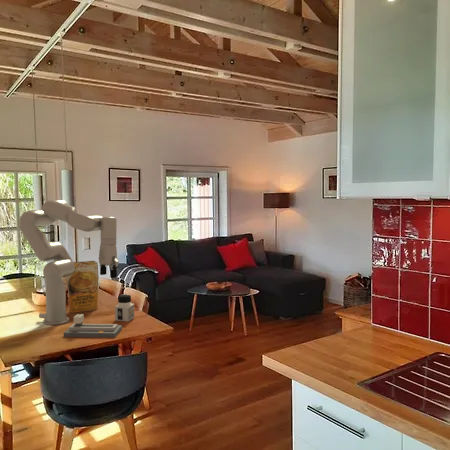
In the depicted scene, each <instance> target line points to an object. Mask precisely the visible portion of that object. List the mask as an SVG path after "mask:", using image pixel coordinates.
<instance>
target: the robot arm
mask: <svg viewBox="0 0 450 450" xmlns="http://www.w3.org/2000/svg"><path fill="white" fill-rule="evenodd" d="M58 220H59V221H61V222H64V223H66V224H67V225H69V226H70V227H72V228H73V229H76V230H80V231H82V232H98V231H100V244H99V250H98V251H99V252H98V263H99V267H100V268H99V275H100V276H104V275H107V266H109V267H110V270H109V272H110V275H109V278H110V279H114V278H117V276H118V268H119V263H120V261H119V260H118V255H117V254H118V251H117V218H116V216H104V215H84V214H81V213H78V212H77V208H76V207H74V206H73V205H69V203H68V202H66V201H65V200H63V199H49V200H46V201H45V202H44V203H43V204H42V206H41V209H32V210H31V209H30V210H27V211H25V212H23V213H22V214H21V215H20V217H19V222H18V225H19V229H20V232H21V233H22V235H23V236H24V237H25V239H26V240H27V241H28V243H29V246H30V247H31V250H32V251H33V252H34V254H35V255H36V257H37V259H38V260H39V261H41V262H43V263H44V262H47V263H46V264H45V265H44V267H43V269H42V274H43V279H44V283H45V309H46V310H45V313H39V314H38V318H39V319H43V321H42V322H43V325H47V326H58V325H63V324H66V323H69V322H70V317H69V316H67V296H66V295H67V294H66V293H67V289H66V284H65V282H64V278H66V277H67V276H70V275H72V274H73V273H74V271H75V265H74V263H73V262H74V261H73V259H72V257H71V255H70V254H69V252H68V251H67V250H68V249H66V248H65V246H64V244H62V243H61V242H58V241H49V239H48V238H47V236H46V234H45V233H44V232H43V231H42V230H41V229H39V227H43V226H49V225H51V224H53V223H56V221H58Z"/></svg>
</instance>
